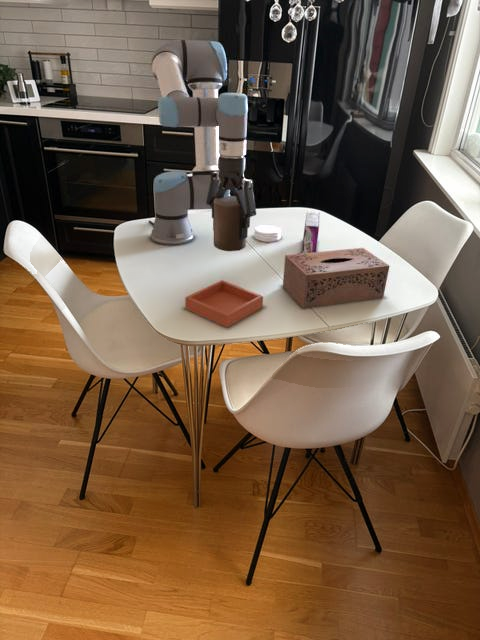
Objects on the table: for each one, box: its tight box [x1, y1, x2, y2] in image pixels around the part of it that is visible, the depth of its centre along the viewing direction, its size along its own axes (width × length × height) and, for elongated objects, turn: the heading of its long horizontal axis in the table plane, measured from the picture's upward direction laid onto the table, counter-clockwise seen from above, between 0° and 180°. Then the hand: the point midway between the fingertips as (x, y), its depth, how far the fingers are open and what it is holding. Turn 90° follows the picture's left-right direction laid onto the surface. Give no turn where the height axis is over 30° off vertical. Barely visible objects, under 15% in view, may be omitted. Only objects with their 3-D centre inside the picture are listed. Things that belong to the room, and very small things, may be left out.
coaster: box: [253, 224, 282, 243], centre depth 181 cm, size 10×10×4 cm
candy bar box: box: [301, 211, 321, 254], centre depth 171 cm, size 11×5×16 cm
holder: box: [184, 279, 264, 328], centre depth 132 cm, size 15×15×4 cm
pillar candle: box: [213, 195, 247, 252], centre depth 141 cm, size 10×10×15 cm
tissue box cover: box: [282, 247, 390, 309], centre depth 141 cm, size 26×14×10 cm, turn 108°
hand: (229, 233), depth 143 cm, fingers closed on pillar candle, 10 cm apart
